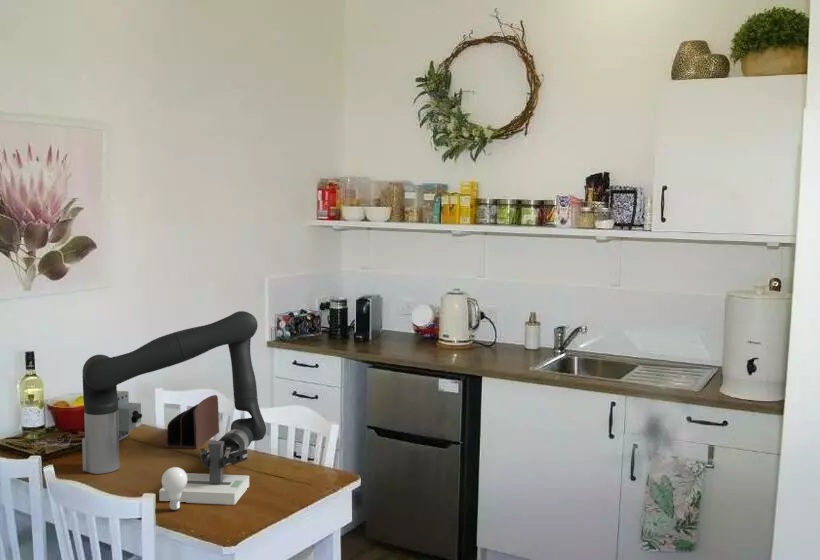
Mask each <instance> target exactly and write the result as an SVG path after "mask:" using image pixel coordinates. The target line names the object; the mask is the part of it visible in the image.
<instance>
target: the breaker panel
mask: <svg viewBox="0 0 820 560" xmlns="http://www.w3.org/2000/svg"><path fill="white" fill-rule="evenodd" d="M186 474H187V478H188V480H187V484H186V486H185V488H184V489H183V491H182V495H181V498H180V503H181V502H186V504H187V503H188V504H207V505H208V504H209V505H225V506H226V505H228V506H229V505H231V506H232V505H233V506H235V505H236V504H237V502H239V500H240V499H241V498H242V496H244V495H245V492H246V491H247V490H248V489H249V487H250V475H241V474H223V478H224V480H223V482H222V483H221V484H215V483H210V481H209V473H196V472H194V473H192V472H191V473H190V472H189V473H188V472H186ZM247 488H248V489H247ZM158 493H159V495H158V496H159V501H169V498H168V494H167V492H166V490H165V489H164V488H163V486H162V487H161V488H160V489H159V490H158Z"/></svg>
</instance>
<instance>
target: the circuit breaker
mask: <svg viewBox="0 0 820 560" xmlns="http://www.w3.org/2000/svg"><path fill="white" fill-rule="evenodd" d="M117 398H118V421H119V436H120V437H119V441H121V440H123V439H125V438H127V437H129V436H130V432H131V431H133V430H136V429H137V428H139V427H141V426H142V418H143V414H142V404H141V402H130V397H129V391H128V390H117ZM122 435H123V436H122ZM128 435H129V436H128ZM126 436H127V437H126Z"/></svg>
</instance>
